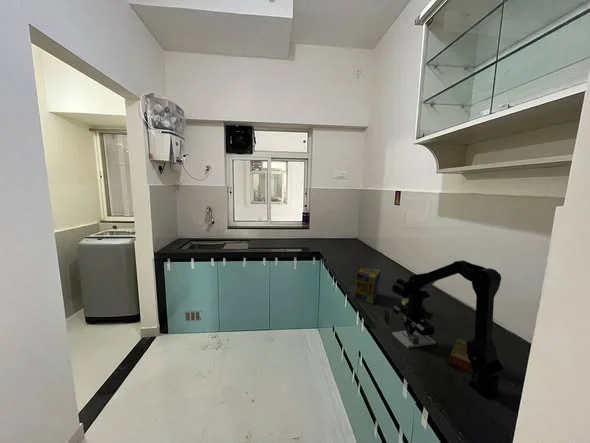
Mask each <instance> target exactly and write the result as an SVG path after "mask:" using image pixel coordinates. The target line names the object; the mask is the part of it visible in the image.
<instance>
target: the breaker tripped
mask: <svg viewBox="0 0 590 443" xmlns="http://www.w3.org/2000/svg"><path fill="white" fill-rule="evenodd" d="M408 340H409V341H410V342H411V343H413V344H419V337H418V336H417V335H416V334H411V335H409V339H408Z"/></svg>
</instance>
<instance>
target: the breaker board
mask: <svg viewBox="0 0 590 443" xmlns="http://www.w3.org/2000/svg"><path fill="white" fill-rule="evenodd" d="M413 334H416V335H417V336H418V337H419V344H413V343H411V342H410V341H409V340H408V339H409V337H408V335H407V332H406V330H400V331H399V330H398V331H392V336H393V337H395V339H397V340H398V341H399V342H400V343H402V344H403V345H404V346H405V347H406V348H407V349H410V348H411V349H412V348H417V347H423V346H424V347H425V346H430V345H431V346H432V345H436V344H437V341H435V339H433V338H432V337H430V335H425V336H423V335H421V334H420V333H417V332H416V331H415V332H414V333H413Z"/></svg>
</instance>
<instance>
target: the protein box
mask: <svg viewBox="0 0 590 443" xmlns="http://www.w3.org/2000/svg"><path fill="white" fill-rule="evenodd" d="M380 277H381V269H376V268H372V267H367V266H363V267H362V268H361V269H360V270H358V272H357V273H356V280H355V289H354V300H357V301H360V302H364V303H367V304H372V305H373V304H374V302H375V300H376V298H377V297H378V295H379V287H380V286H379V285H380Z"/></svg>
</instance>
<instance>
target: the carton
mask: <svg viewBox="0 0 590 443" xmlns="http://www.w3.org/2000/svg"><path fill="white" fill-rule="evenodd" d="M466 351H467V340H466V339H463V338H459V337H458V338H457V339H456V341H455V344H454V346H453V347H452V349H451V352H450V354H449V358H448V364H449V365H451V366H454V367H455V368H458V369H460V370H462V371H465V372H467V373H469V374H471V375H472V367H471V362H470V361H469V359H468V354H466Z"/></svg>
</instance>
